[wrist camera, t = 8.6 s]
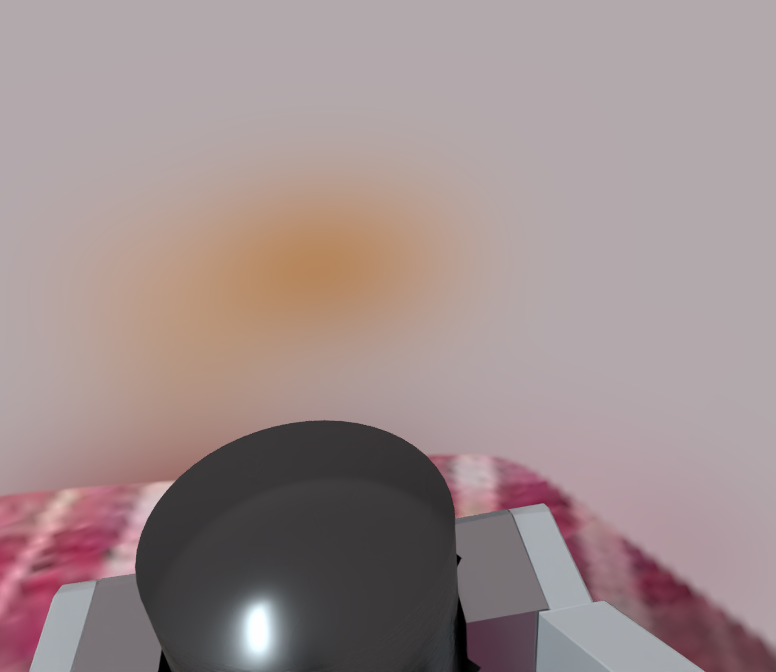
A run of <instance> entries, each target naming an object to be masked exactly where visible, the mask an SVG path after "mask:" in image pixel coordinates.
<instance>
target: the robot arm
mask: <svg viewBox="0 0 776 672" xmlns="http://www.w3.org/2000/svg"><path fill="white" fill-rule="evenodd" d="M455 531H456V554H457V577H458V600H459V624H460V647H461V670H462V672H705V671H704V670H702V669H701V668H699V667H698V666H697V665H695V664H694V663H692V662H691V661H690V660H688V659H687V658H685V657H684V656H682V655H681V654H680V653H678V652H677V651H675V650H674V649H673V648H671V647H670V646H668V645H667V644H666V643H664V642H663V641H661V640H660V639H658V638H657V637H656V636H654V635H653V634H651V633H650V632H649V631H647V630H646V629H644V628H643V627H642V626H640V625H639V624H637V623H636V622H634V621H633V620H632V619H630V618H629V617H627V616H626V615H625V614H623V613H622V612H620V611H619V610H618V609H616V608H615V607H613V606H612V605H610V604H609V603H608V602H606V601H605V600H604V601H597V602H593V600H592V598H591V596H590V594H589V592H588V589H587V587H586V585H585V583H584V581H583V579H582V577H581V575H580V572H579V570H578V568H577V566H576V564H575V562H574V560H573V558H572V555H571V553H570V551H569V549H568V547H567V545H566V543H565V541H564V538H563V536H562V534H561V532H560V530H559V528H558V526H557V524H556V521H555V519H554V517H553V515H552V513H551V511H550V509H549V508H548V507H547V506H546V505H545V504H544V503H543V504H537V505H531V506H526V507H520V508H514V509H509V510H508V511H507V510H501V511H495V512H490V513H484V514H479V515H474V516H468V517H463V518H457V519H455ZM29 672H171V669H170V667H169V665H168V662H167V660H166V658H165V655H164V653H163V650H162V648H161V646H160V643H159V641H158V639H157V636H156V634H155V632H154V629H153V627H152V624H151V622H150V620H149V617H148V615H147V613H146V610H145V608H144V606H143V603H142V601H141V598H140V594H139V591H138V587H137V583H136V574H130V575H123V576H116V577H109V578H103V579H99V580H92V581H86V582H79V583H73V584H66V585H62V586H61V588H60V589H59V590H58V592H57V593H56V594H55V596H54V597H53V600H52V603H51V606H50V609H49V612H48V615H47V618H46V621H45V625H44V628H43V631H42V634H41V637H40V640H39V643H38V646H37V649H36V652H35V655H34V658H33V661H32V665H31V668H30V671H29Z"/></svg>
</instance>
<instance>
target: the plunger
mask: <svg viewBox="0 0 776 672" xmlns="http://www.w3.org/2000/svg"><path fill="white" fill-rule="evenodd" d="M135 570H136V583H137V587H138V591H139V594H140V598H141V601H142V603H143V606H144V608H145V610H146V613H147V615H148V617H149V620H150V622H151V624H152V627H153V629H154V632H155V634H156V636H157V639H158V641H159V643H160V646H161V648H162V650H163V653H164V655H165V658H166V660H167V662H168V665H169V667H170V669H171V672H462V670H461V647H460V624H459V600H458V577H457V554H456V531H455V513H454V505H453V501H452V497H451V493H450V491H449V488H448V486H447V484H446V482H445V479H444V478H443V476H442V475H441V473H440V472H439V470H438V469H437V467H436V466H435V465H434V464H433V463H432V462H431V460H430V459H429V458H428V457H427V456H426V455H425V454H423V453H422V452H421V451H420V450H419V449H417V448H416V447H415V446H413V445H412V444H410V443H408V442H407V441H405V440H404V439H402V438H400V437H397V436H396V435H393V434H391V433H389V432H387V431H383V430H381V429H378V428H375V427H371V426H367V425H363V424H358V423H351V422H344V421H325V420H324V421H305V422H297V423H290V424H285V425H280V426H275V427H271V428H268V429H264V430H261V431H258V432H255V433H252V434H250V435H247V436H244V437H242V438H240V439H237V440H235V441H233V442H231V443H229V444H226V445H225V446H223V447H221V448H219V449H217V450H216V451H214V452H212V453H210V454H209V455H207V456H206V457H204V458H203V459H202V460H200V461H199V462H197V463H196V464H194V465H193V466H192V467H191V468H190V469H189V470H187V471H186V472H185V473H184V474H183V475H181V476H180V477H179V478H178V479H177V480H176V481H175V482H174V483H173V484H172V485H171V487H170V488H169V489H168V490H167V491H166V492H165V494H164V495H163V496H162V497H161V499H160V500H159V501H158V503H157V504H156V506H155V507H154V509H153V511H152V512H151V514H150V516H149V517H148V519H147V522H146V524H145V526H144V529H143V531H142V533H141V537H140V540H139V544H138V548H137V554H136V564H135Z"/></svg>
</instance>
